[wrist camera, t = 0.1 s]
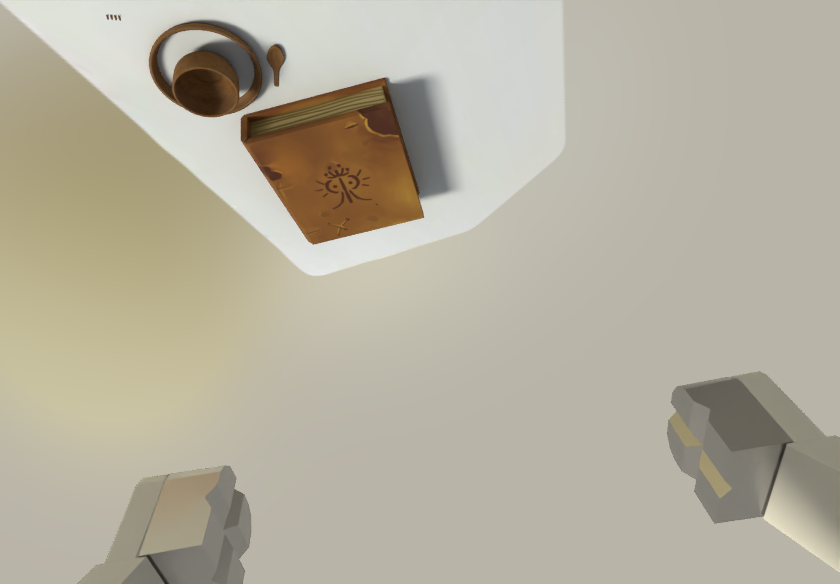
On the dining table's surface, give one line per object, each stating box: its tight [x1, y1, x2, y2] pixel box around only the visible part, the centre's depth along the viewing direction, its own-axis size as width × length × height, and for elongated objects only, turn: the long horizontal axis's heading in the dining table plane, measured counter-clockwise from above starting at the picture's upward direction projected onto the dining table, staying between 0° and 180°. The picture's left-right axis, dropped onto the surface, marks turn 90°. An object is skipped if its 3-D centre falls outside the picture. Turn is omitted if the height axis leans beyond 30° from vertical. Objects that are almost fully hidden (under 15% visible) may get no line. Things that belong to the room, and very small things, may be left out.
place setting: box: [106, 15, 284, 117], centre depth 60 cm, size 18×20×6 cm
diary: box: [241, 78, 424, 245], centre depth 79 cm, size 23×19×6 cm
